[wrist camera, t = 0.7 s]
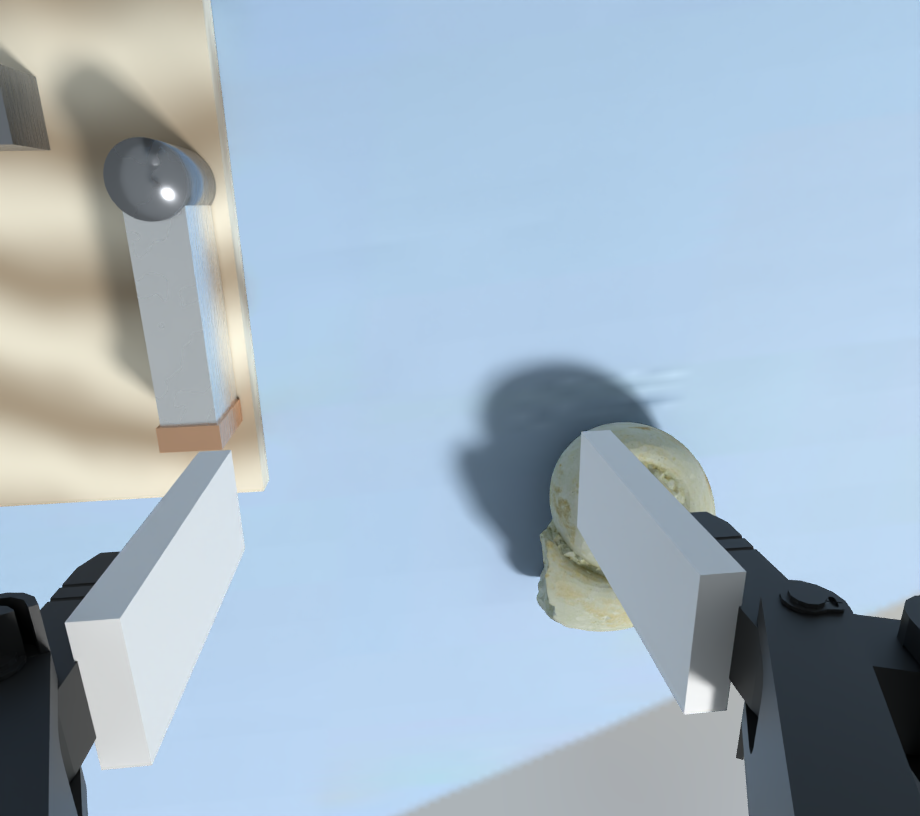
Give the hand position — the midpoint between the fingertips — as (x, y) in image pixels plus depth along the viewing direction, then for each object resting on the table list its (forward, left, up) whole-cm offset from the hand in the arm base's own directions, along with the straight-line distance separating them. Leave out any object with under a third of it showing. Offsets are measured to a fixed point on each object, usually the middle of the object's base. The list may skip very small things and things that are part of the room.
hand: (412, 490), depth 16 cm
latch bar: (-3, -10, -18) cm, 21 cm away
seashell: (+11, +12, -20) cm, 26 cm away
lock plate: (-4, -15, -19) cm, 25 cm away
